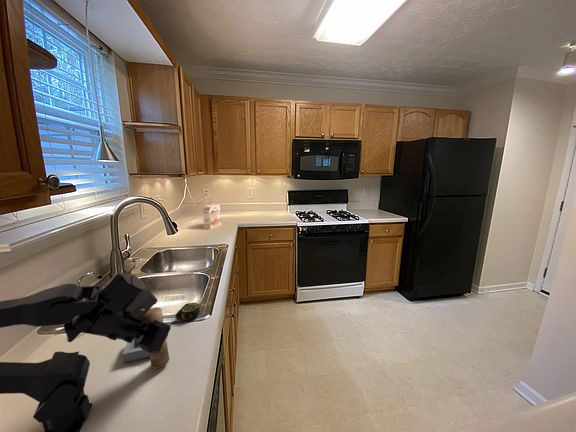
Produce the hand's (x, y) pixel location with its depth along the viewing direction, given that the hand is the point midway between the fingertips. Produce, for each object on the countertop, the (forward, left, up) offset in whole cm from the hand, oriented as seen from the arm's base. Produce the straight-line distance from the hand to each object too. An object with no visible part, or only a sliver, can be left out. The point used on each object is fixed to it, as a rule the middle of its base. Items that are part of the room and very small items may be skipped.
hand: (161, 333), depth 65 cm
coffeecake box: (+14, +150, -9) cm, 151 cm away
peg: (-1, -1, -8) cm, 8 cm away
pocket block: (-7, +7, -9) cm, 13 cm away
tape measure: (+4, +20, -9) cm, 22 cm away
